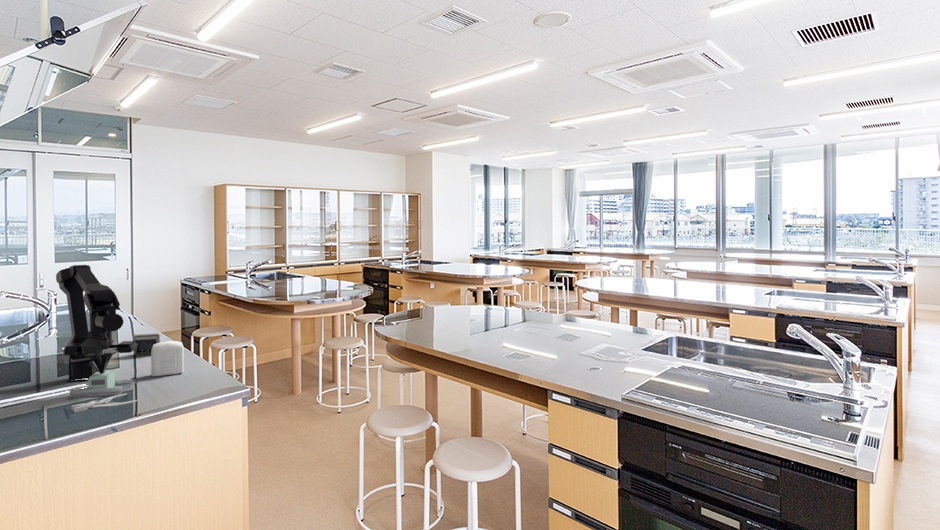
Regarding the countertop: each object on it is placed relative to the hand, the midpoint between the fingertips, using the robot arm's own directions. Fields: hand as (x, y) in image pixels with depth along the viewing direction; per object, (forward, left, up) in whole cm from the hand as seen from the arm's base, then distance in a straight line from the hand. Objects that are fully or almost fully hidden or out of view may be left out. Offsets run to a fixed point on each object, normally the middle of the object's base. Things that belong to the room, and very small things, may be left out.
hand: (102, 373), depth 159 cm
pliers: (+6, -14, -6) cm, 16 cm away
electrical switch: (-1, +46, -6) cm, 46 cm away
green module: (0, 0, -5) cm, 5 cm away
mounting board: (0, 0, -6) cm, 6 cm away
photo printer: (+15, +15, -6) cm, 22 cm away
